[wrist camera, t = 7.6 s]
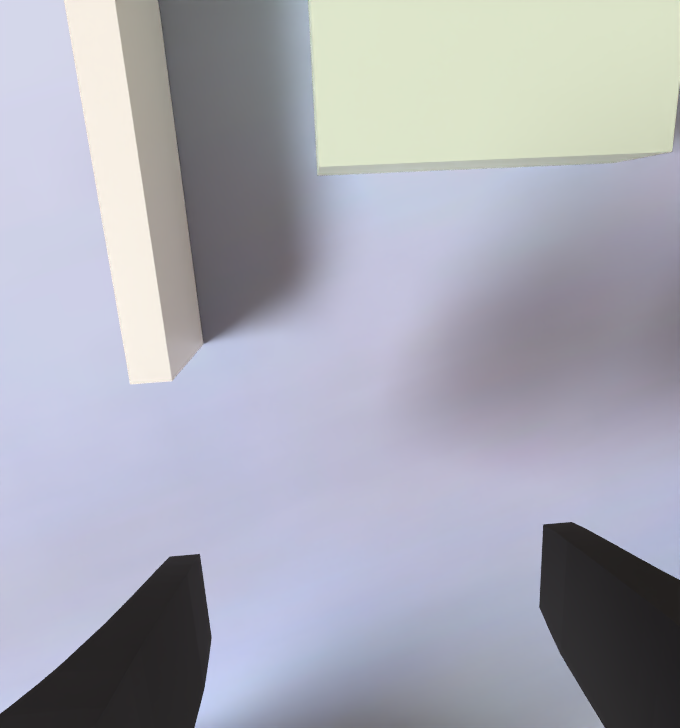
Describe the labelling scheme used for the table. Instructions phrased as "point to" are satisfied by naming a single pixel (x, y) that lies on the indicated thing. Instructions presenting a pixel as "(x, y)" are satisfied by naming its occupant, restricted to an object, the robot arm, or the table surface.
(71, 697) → the robot arm
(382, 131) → the green tile
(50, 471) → the table surface
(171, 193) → the bin
